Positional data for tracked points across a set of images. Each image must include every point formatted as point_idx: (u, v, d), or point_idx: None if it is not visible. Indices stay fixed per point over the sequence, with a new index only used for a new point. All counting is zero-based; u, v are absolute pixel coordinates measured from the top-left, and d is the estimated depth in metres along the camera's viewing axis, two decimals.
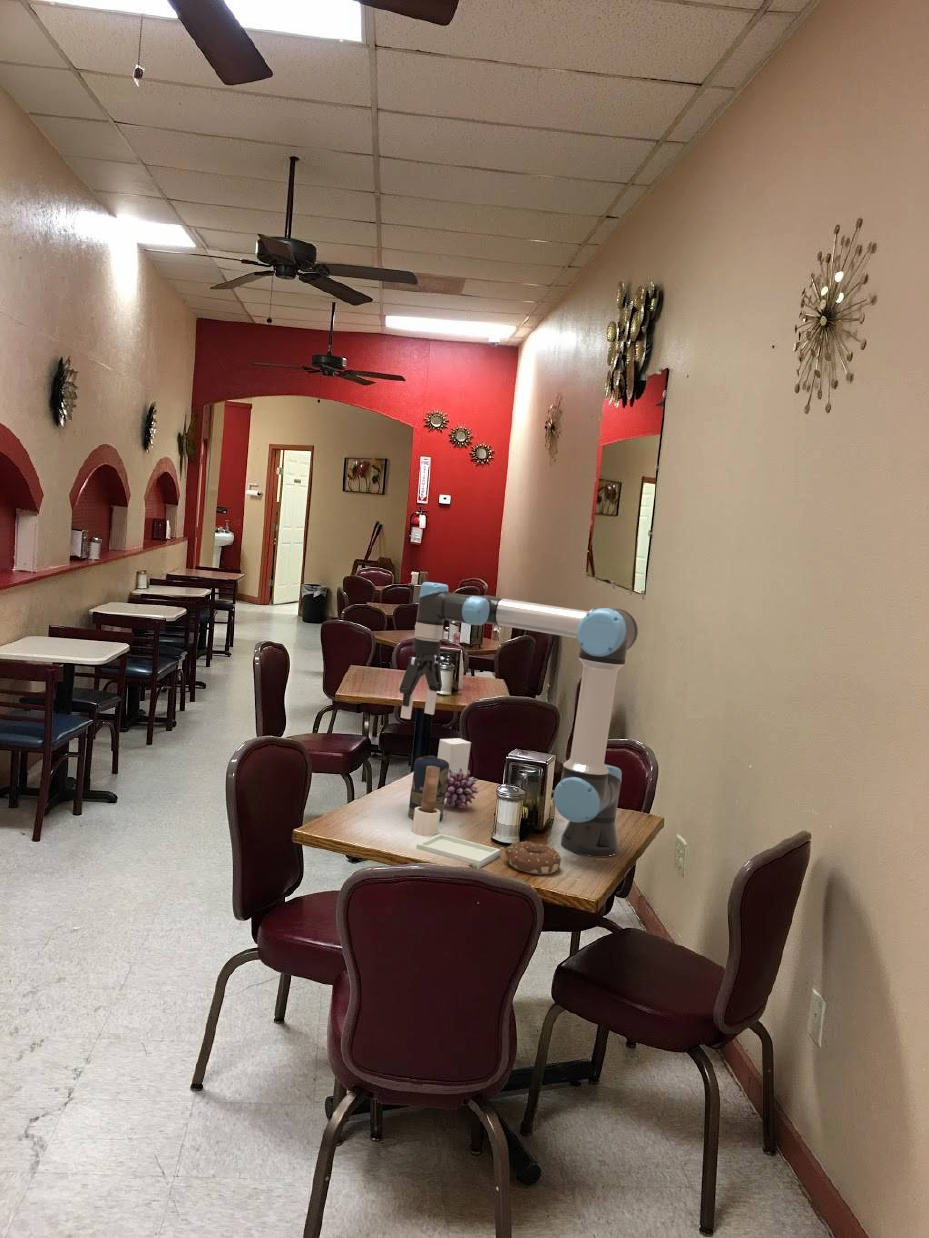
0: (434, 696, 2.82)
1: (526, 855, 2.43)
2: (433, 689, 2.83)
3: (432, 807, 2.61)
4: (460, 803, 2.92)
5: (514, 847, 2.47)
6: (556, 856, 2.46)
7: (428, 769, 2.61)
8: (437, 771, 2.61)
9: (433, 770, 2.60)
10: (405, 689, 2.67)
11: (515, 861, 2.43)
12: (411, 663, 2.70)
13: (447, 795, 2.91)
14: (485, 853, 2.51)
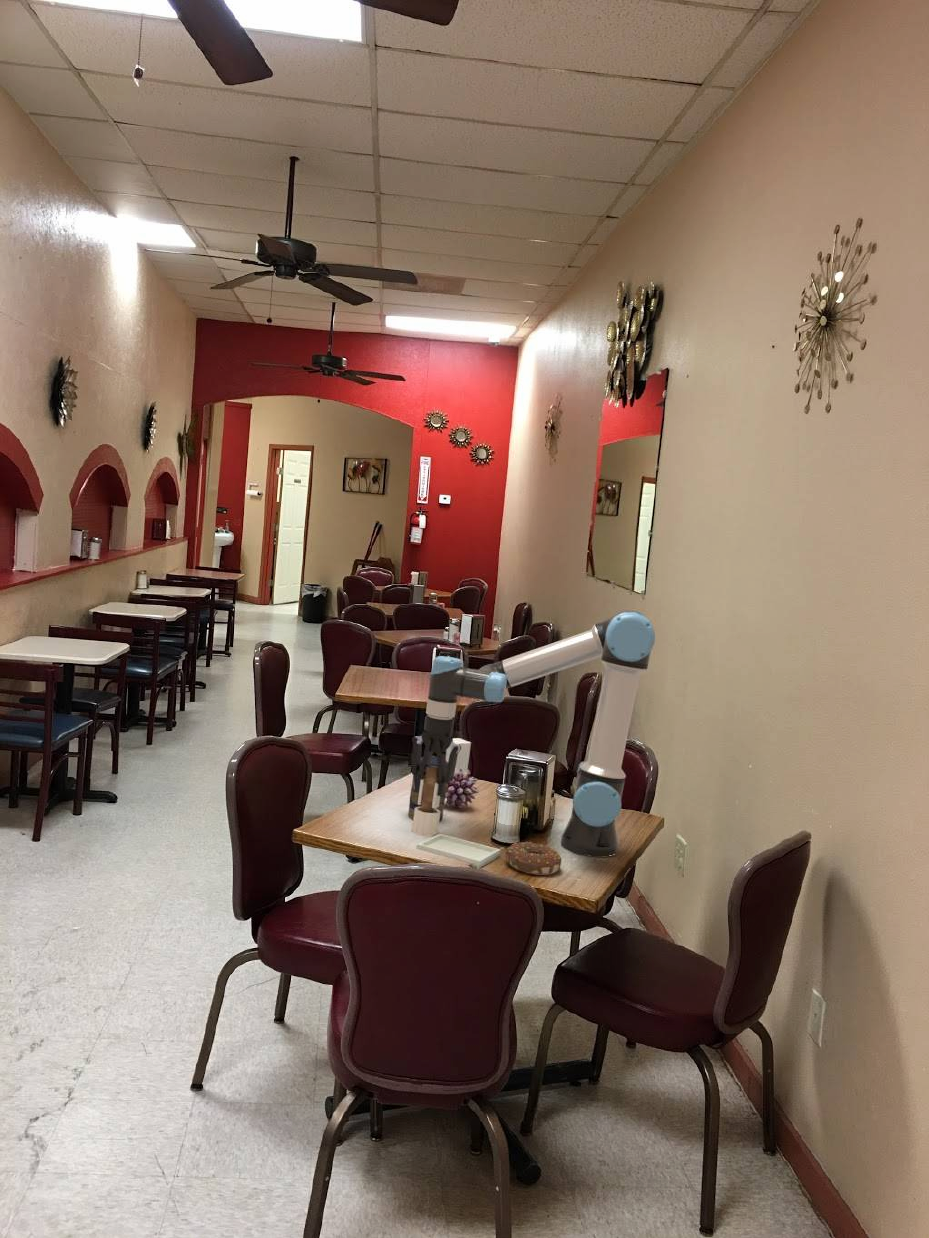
0: None
1: (527, 856, 2.42)
2: None
3: None
4: (460, 803, 2.92)
5: (514, 848, 2.47)
6: (557, 857, 2.45)
7: (428, 769, 2.61)
8: (437, 771, 2.61)
9: (433, 770, 2.60)
10: None
11: (516, 862, 2.43)
12: None
13: (447, 795, 2.91)
14: (485, 853, 2.51)
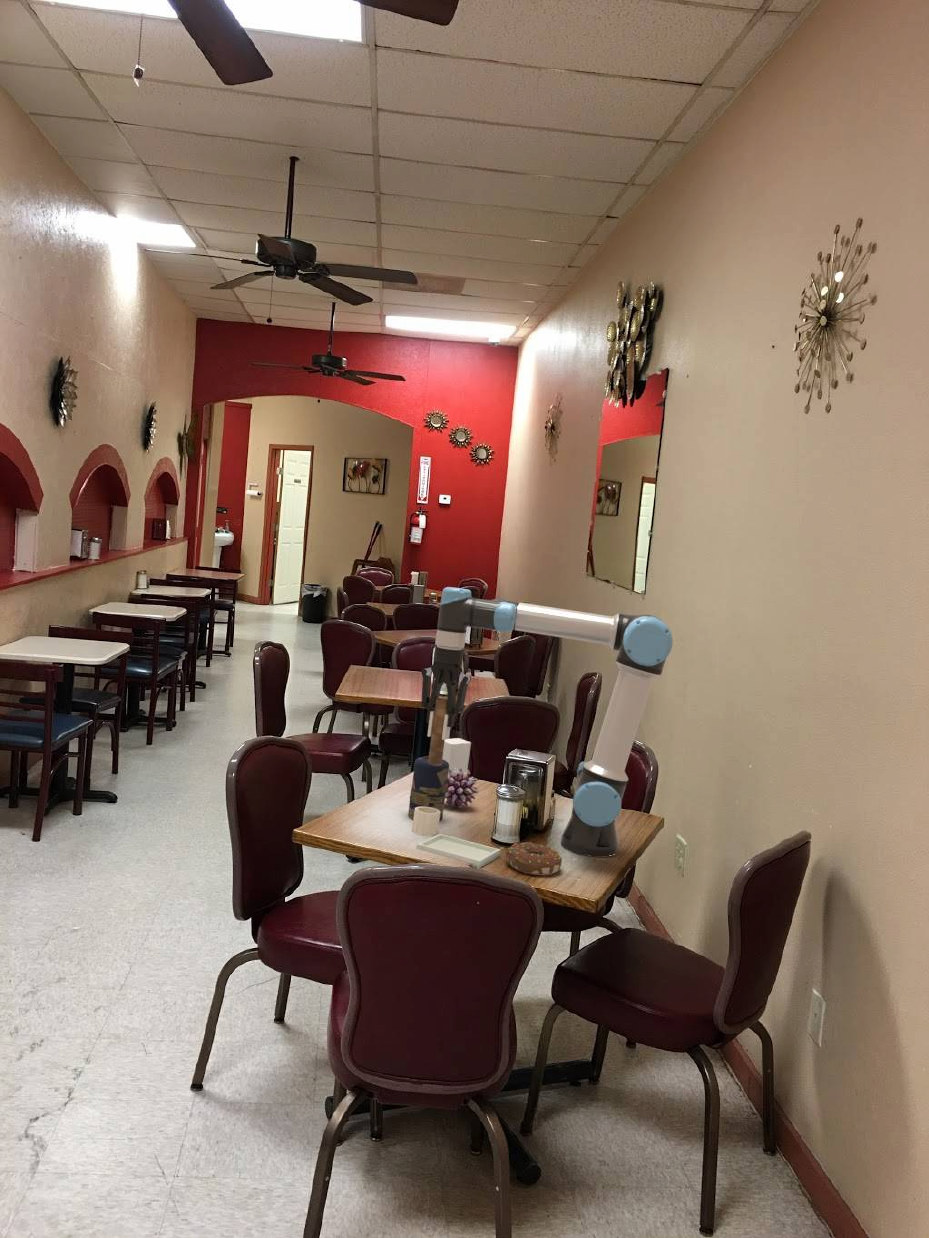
0: None
1: (527, 856, 2.42)
2: None
3: (442, 739, 2.60)
4: (460, 803, 2.92)
5: (515, 848, 2.46)
6: (557, 857, 2.45)
7: (438, 700, 2.60)
8: (447, 702, 2.60)
9: (443, 701, 2.59)
10: None
11: (516, 862, 2.42)
12: None
13: (447, 795, 2.91)
14: (485, 853, 2.51)
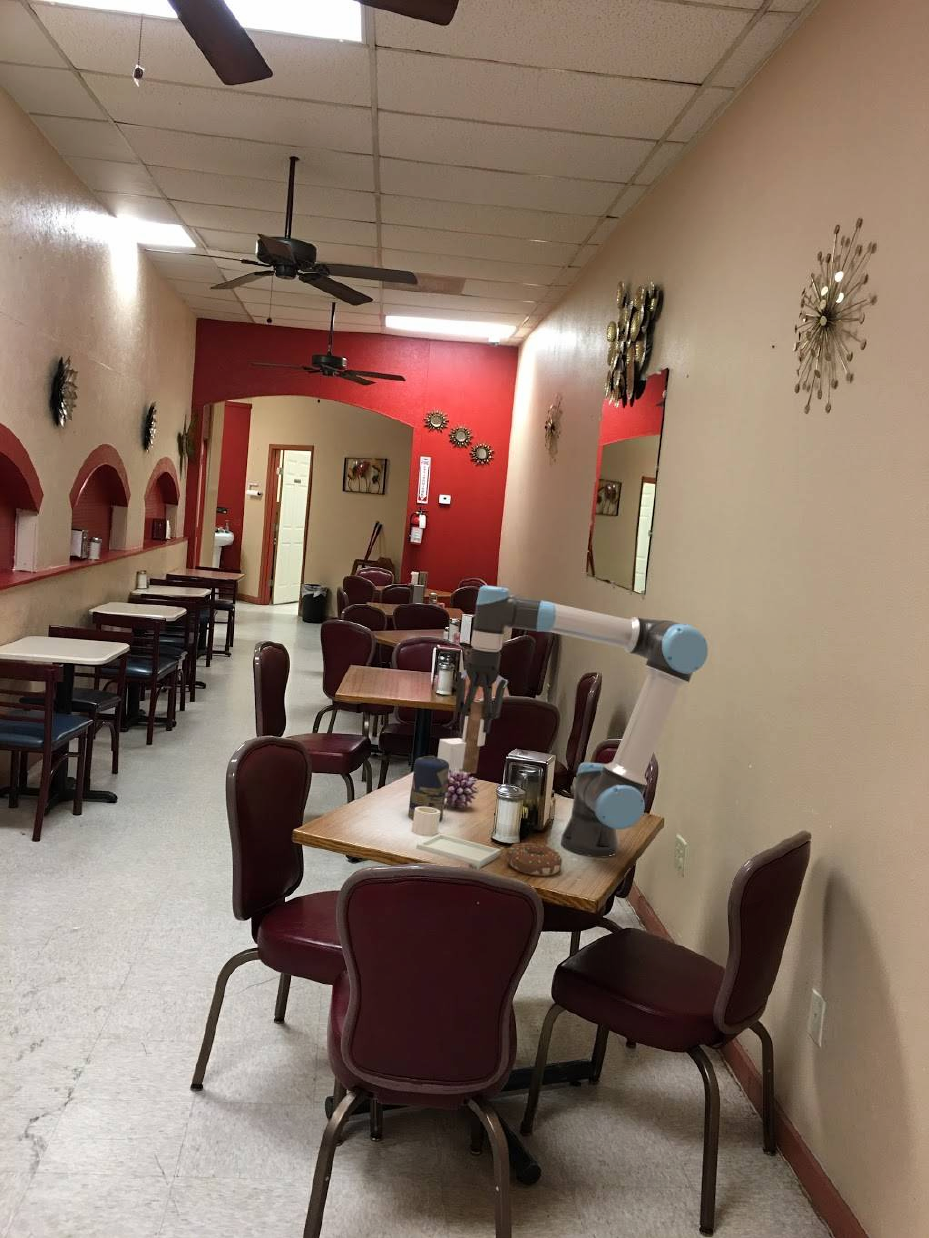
0: None
1: (527, 856, 2.42)
2: None
3: None
4: (460, 803, 2.92)
5: (515, 848, 2.46)
6: (557, 857, 2.45)
7: (473, 705, 2.47)
8: (483, 707, 2.47)
9: (478, 706, 2.46)
10: None
11: (516, 862, 2.42)
12: None
13: (447, 795, 2.91)
14: (485, 853, 2.51)
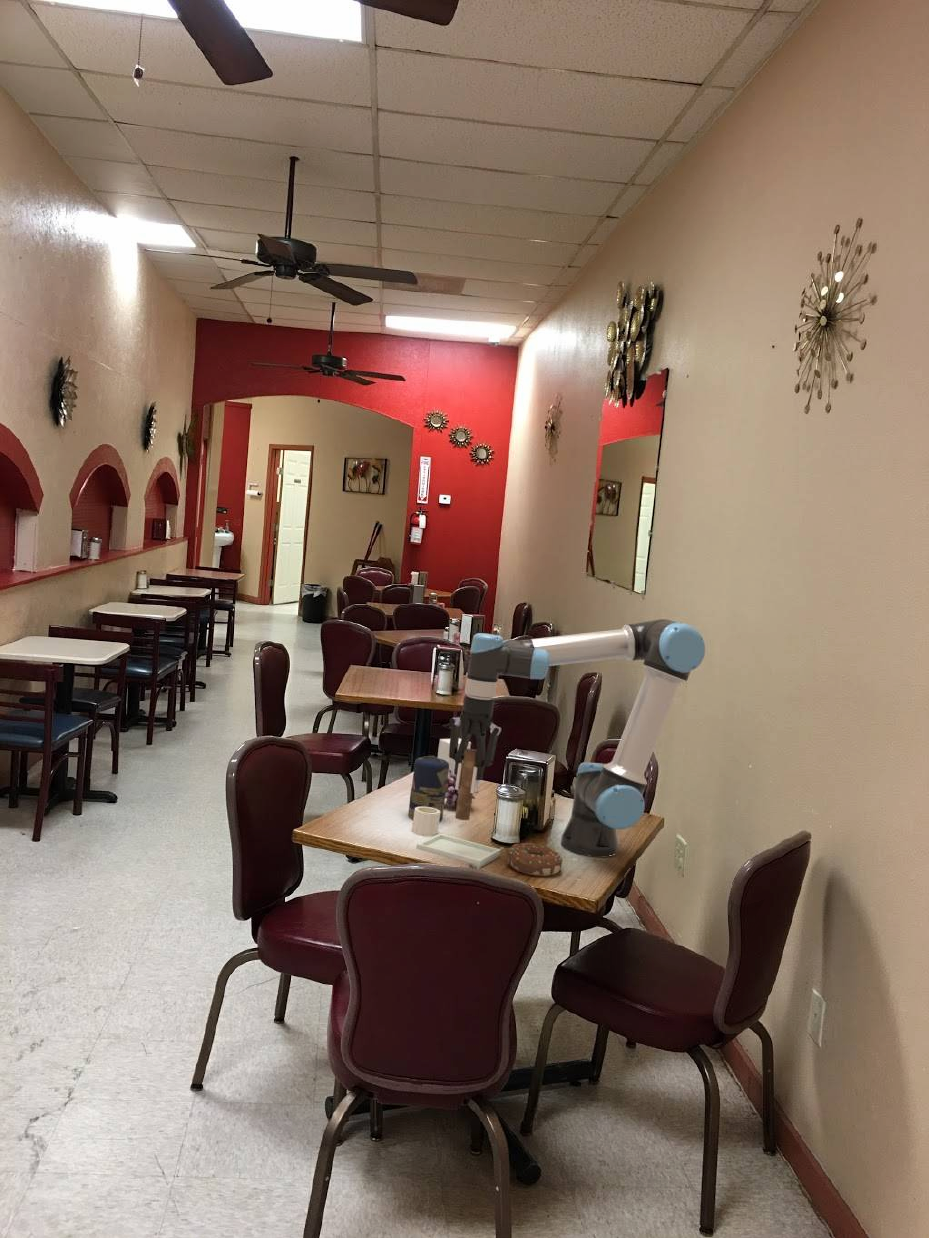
0: None
1: (527, 857, 2.41)
2: None
3: None
4: None
5: (515, 849, 2.46)
6: (558, 858, 2.44)
7: (466, 752, 2.47)
8: (476, 754, 2.47)
9: (472, 753, 2.47)
10: None
11: (516, 863, 2.42)
12: None
13: (447, 795, 2.91)
14: (485, 853, 2.51)
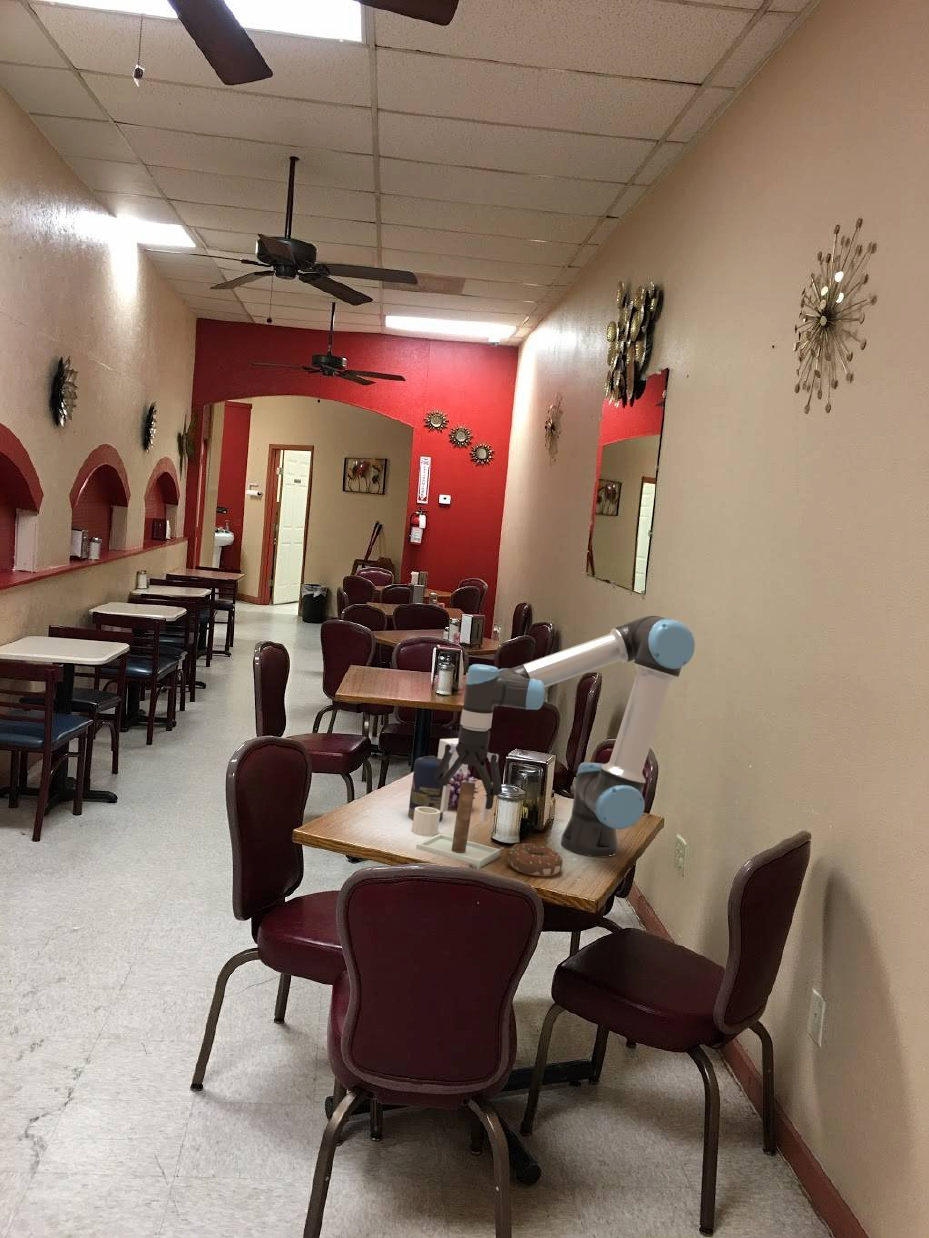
0: (483, 801, 2.46)
1: (528, 857, 2.41)
2: None
3: (467, 825, 2.49)
4: None
5: (516, 849, 2.46)
6: (558, 858, 2.44)
7: (463, 785, 2.48)
8: (472, 787, 2.48)
9: (468, 786, 2.47)
10: None
11: (517, 863, 2.42)
12: None
13: None
14: (485, 853, 2.51)
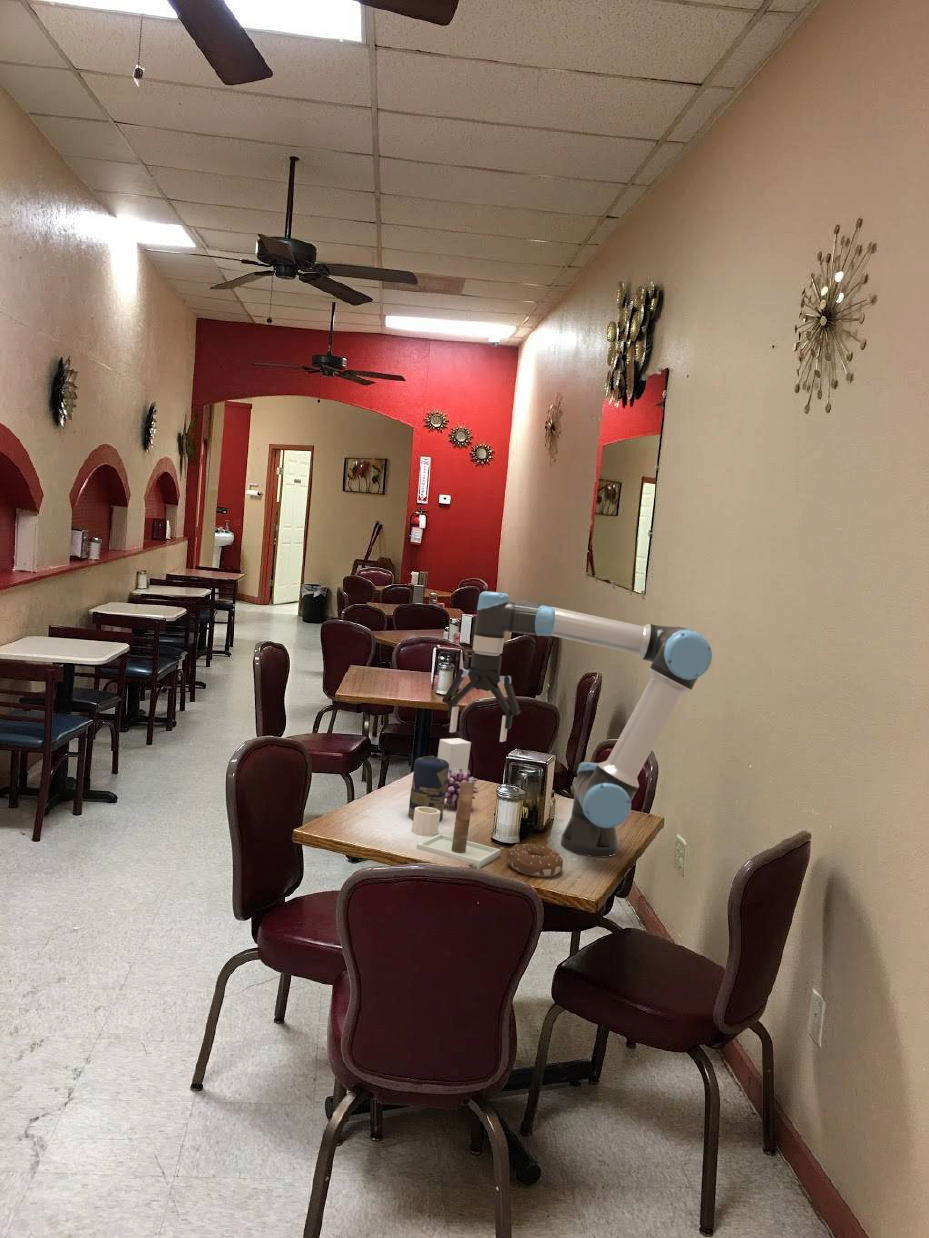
0: None
1: (528, 857, 2.41)
2: None
3: (466, 825, 2.49)
4: None
5: (516, 849, 2.45)
6: (558, 858, 2.44)
7: (462, 785, 2.48)
8: (472, 787, 2.48)
9: (467, 786, 2.48)
10: None
11: (517, 863, 2.41)
12: None
13: (447, 795, 2.91)
14: (485, 853, 2.51)
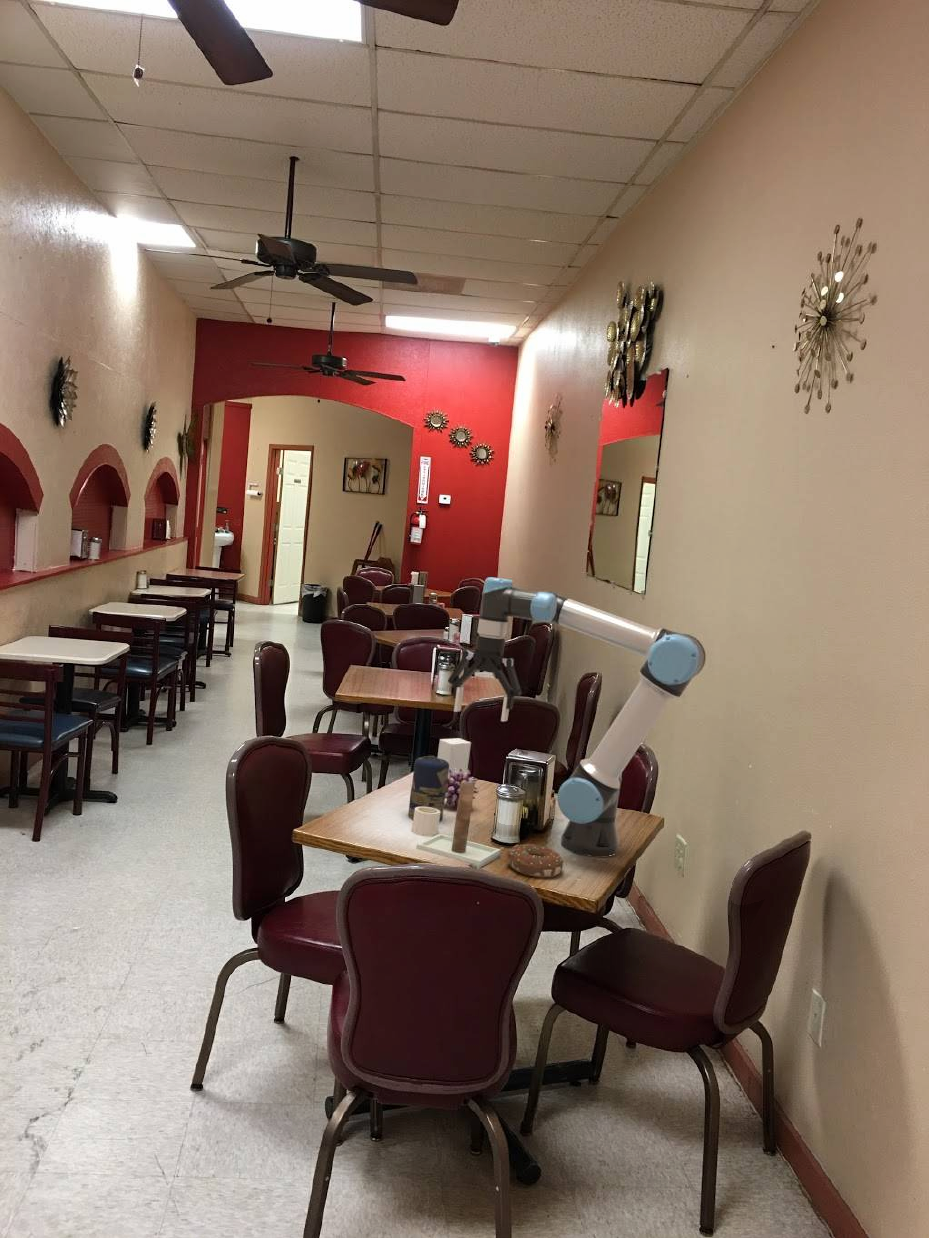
0: (504, 701, 2.63)
1: (528, 858, 2.41)
2: None
3: (466, 825, 2.49)
4: None
5: (516, 850, 2.45)
6: (558, 859, 2.44)
7: (462, 785, 2.48)
8: (472, 787, 2.48)
9: (468, 786, 2.48)
10: None
11: (517, 864, 2.41)
12: None
13: (447, 795, 2.91)
14: (485, 853, 2.51)
